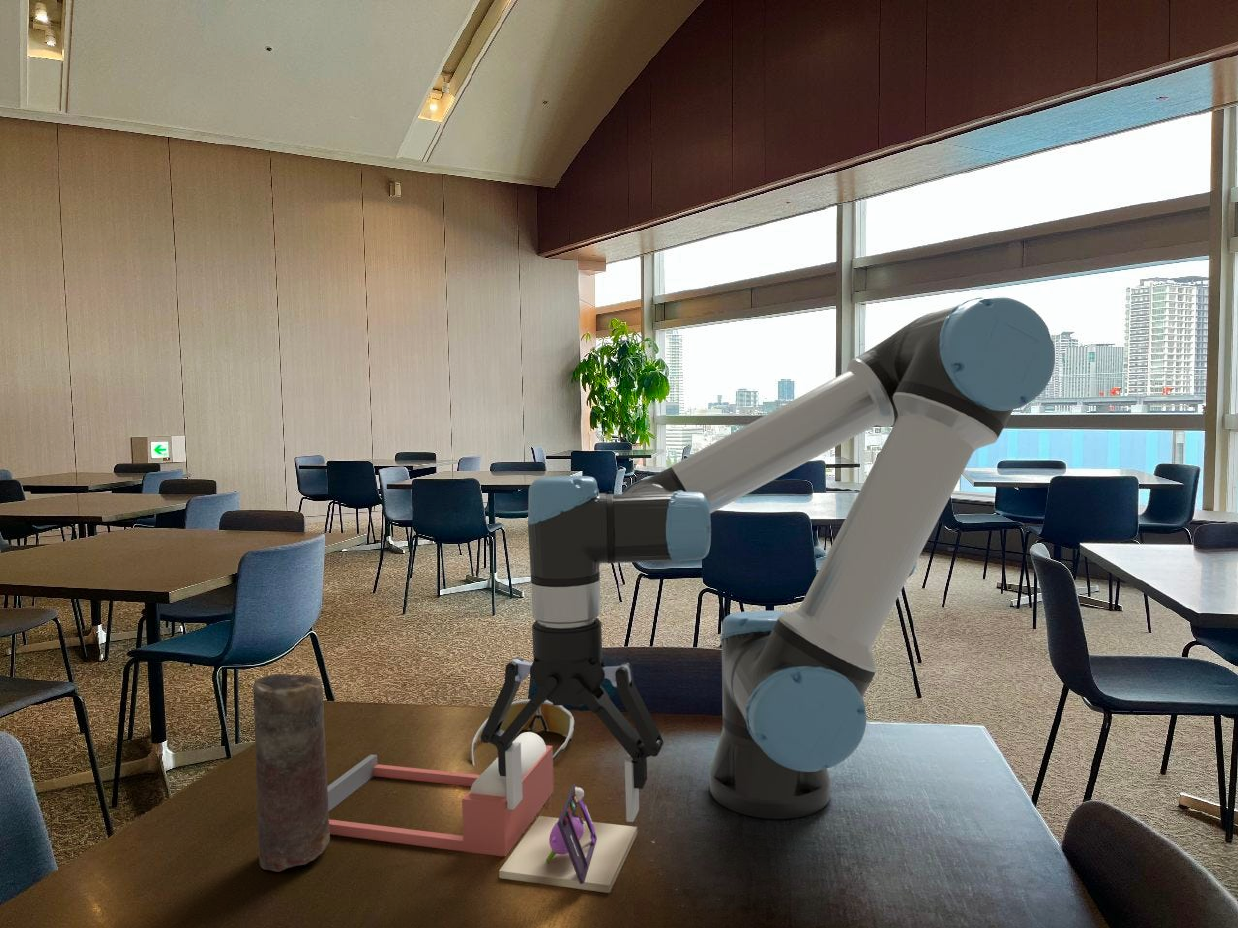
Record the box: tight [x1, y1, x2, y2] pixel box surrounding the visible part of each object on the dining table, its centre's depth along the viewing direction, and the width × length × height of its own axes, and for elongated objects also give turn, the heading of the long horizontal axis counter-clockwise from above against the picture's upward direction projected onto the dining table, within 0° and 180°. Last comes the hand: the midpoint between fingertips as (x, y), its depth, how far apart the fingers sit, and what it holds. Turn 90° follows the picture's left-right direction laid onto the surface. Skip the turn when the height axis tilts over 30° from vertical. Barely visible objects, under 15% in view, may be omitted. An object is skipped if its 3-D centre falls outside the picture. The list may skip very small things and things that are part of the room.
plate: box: [498, 815, 638, 894], centre depth 89 cm, size 12×12×1 cm
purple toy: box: [546, 782, 597, 884], centre depth 87 cm, size 7×5×9 cm
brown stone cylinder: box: [252, 673, 331, 873], centre depth 90 cm, size 8×7×20 cm
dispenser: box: [327, 731, 555, 858], centre depth 100 cm, size 26×16×8 cm, turn 75°
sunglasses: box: [470, 698, 575, 767], centre depth 119 cm, size 14×15×5 cm
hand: (572, 809), depth 89 cm, fingers open, 13 cm apart
